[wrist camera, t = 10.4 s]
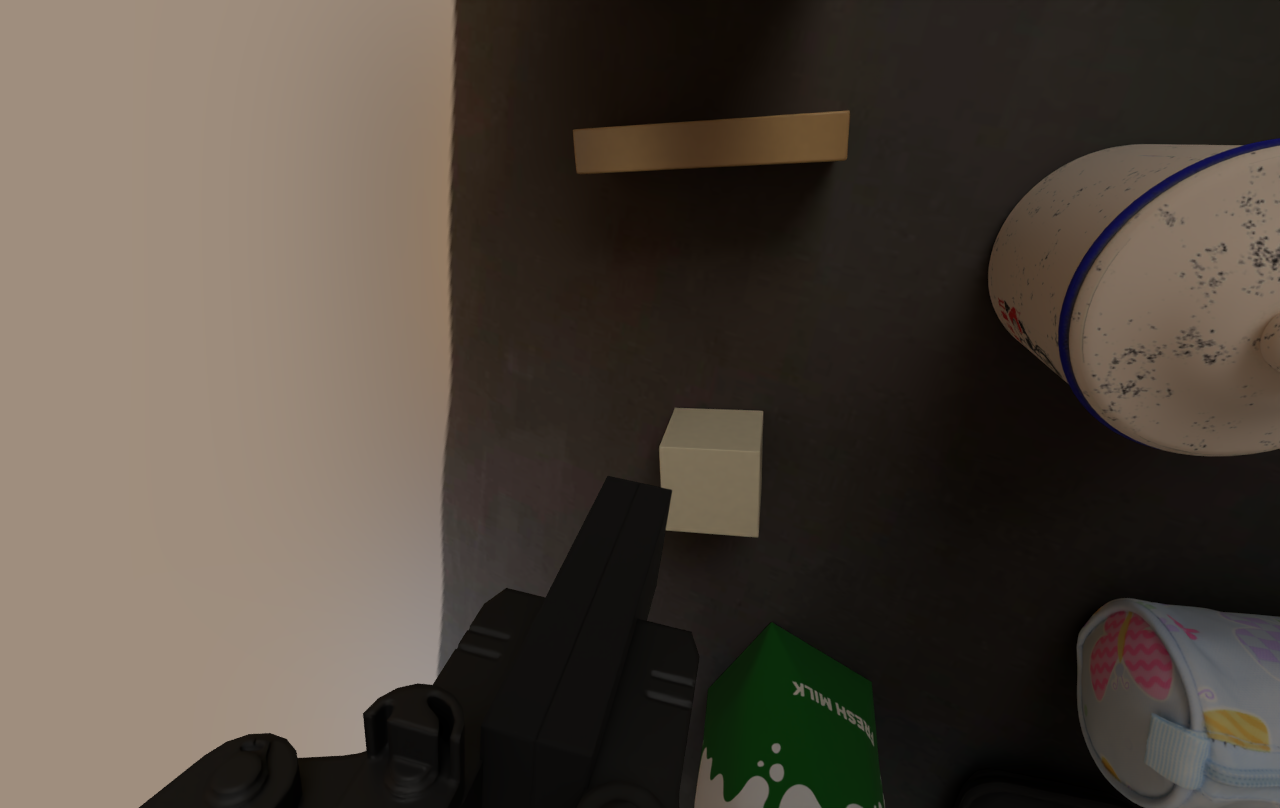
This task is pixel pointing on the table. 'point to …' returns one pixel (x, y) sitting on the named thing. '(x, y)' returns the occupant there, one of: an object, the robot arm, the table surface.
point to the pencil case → (1182, 704)
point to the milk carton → (789, 731)
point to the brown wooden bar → (713, 143)
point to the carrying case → (1029, 793)
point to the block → (713, 471)
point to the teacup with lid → (1155, 291)
